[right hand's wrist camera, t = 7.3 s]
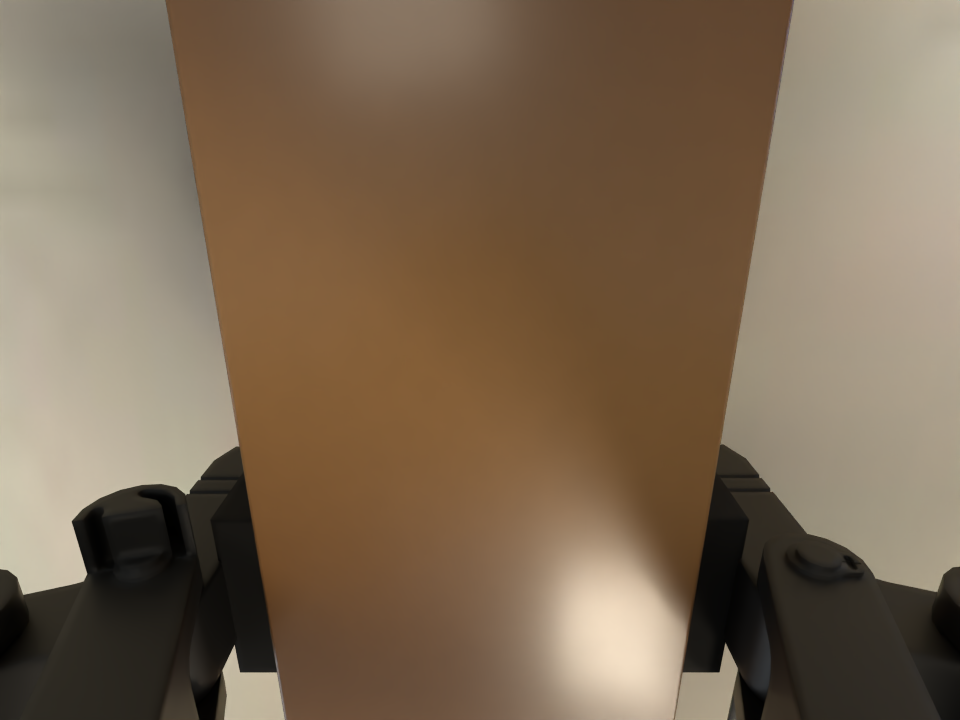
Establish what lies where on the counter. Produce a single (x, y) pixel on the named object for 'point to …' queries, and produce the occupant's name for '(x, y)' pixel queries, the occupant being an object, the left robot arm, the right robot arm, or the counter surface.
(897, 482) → the counter surface
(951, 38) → the counter surface
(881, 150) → the counter surface
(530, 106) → the bar
